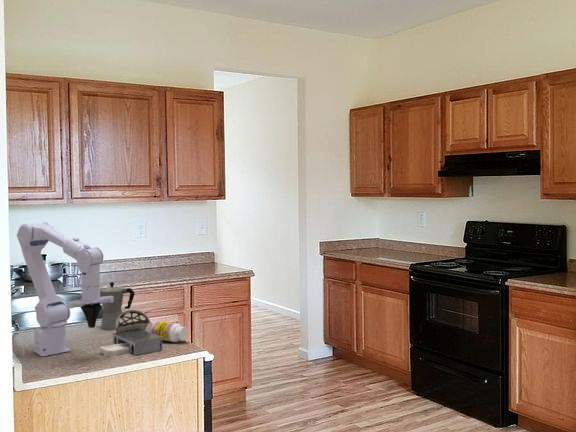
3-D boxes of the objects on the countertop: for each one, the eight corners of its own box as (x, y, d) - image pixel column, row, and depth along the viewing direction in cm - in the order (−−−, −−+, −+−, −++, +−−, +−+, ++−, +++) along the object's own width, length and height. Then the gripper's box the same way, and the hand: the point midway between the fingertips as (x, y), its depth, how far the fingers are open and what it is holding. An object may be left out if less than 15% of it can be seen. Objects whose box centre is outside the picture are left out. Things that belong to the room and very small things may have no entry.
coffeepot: (92, 330, 221) (90, 284, 220) (99, 324, 231) (98, 280, 230) (131, 330, 221) (131, 284, 220) (138, 324, 231) (137, 280, 230)
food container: (140, 323, 215) (146, 306, 209) (145, 336, 211) (151, 319, 205) (107, 328, 208) (112, 310, 202) (111, 342, 204) (117, 324, 199)
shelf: (135, 355, 188) (134, 342, 188) (113, 345, 200) (113, 333, 199) (162, 349, 194) (162, 337, 194) (139, 340, 206) (139, 328, 206)
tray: (108, 357, 187) (108, 351, 186) (99, 352, 191) (99, 346, 191) (141, 349, 195) (141, 344, 194) (133, 346, 199) (132, 340, 199)
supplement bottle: (154, 317, 208) (182, 321, 202) (164, 325, 213) (192, 328, 207) (147, 334, 204) (175, 338, 198) (157, 342, 209) (185, 346, 203)
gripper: (73, 290, 177) (74, 333, 178) (117, 284, 187) (118, 325, 188) (64, 287, 183) (65, 329, 183) (107, 281, 192) (108, 321, 193)
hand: (91, 327), depth 186 cm, fingers closed
